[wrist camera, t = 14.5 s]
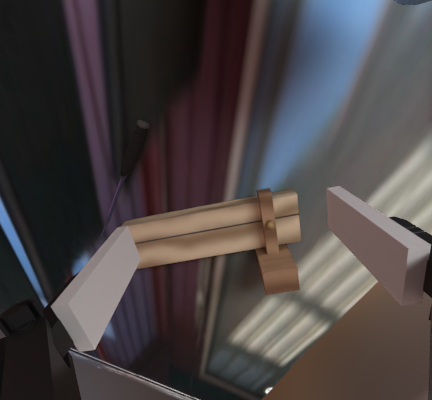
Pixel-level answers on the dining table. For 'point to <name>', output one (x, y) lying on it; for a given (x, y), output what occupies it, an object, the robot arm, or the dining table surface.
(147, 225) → the board
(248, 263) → the dining table surface
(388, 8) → the dining table surface
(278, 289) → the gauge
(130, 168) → the knife
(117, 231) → the robot arm
